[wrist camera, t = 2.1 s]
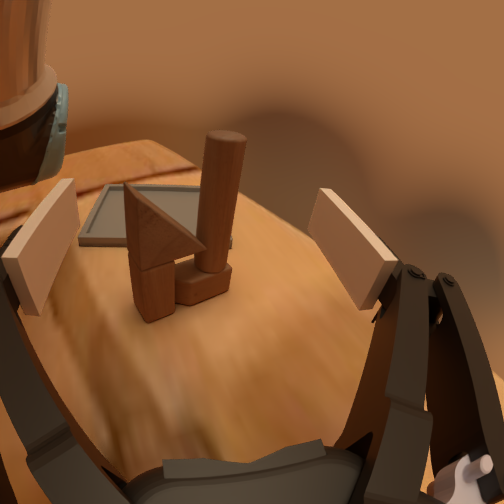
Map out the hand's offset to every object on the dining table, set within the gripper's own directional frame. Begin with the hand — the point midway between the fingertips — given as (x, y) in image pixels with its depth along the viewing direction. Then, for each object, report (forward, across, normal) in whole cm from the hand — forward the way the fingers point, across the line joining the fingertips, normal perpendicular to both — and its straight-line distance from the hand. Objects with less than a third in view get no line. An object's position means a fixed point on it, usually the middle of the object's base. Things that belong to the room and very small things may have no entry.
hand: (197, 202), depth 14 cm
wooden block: (+10, 0, -17) cm, 20 cm away
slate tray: (+29, -4, -16) cm, 33 cm away
